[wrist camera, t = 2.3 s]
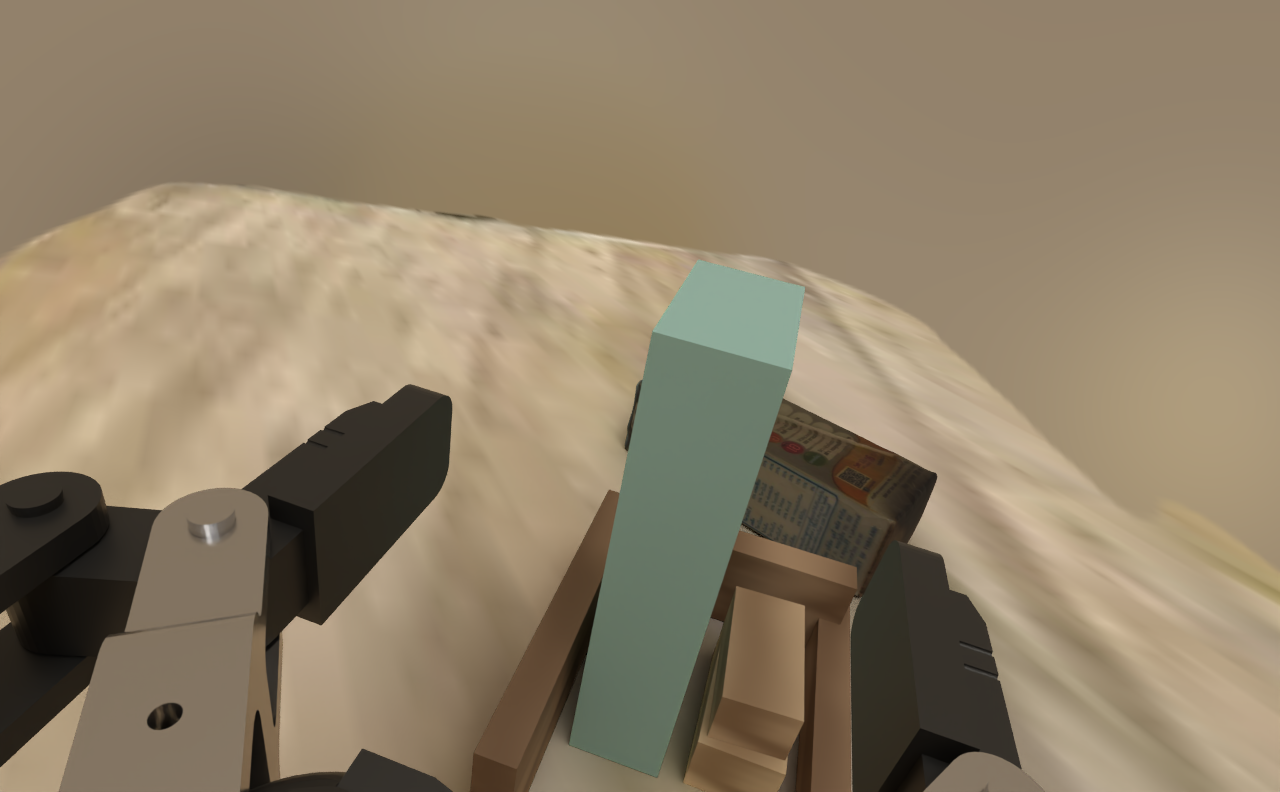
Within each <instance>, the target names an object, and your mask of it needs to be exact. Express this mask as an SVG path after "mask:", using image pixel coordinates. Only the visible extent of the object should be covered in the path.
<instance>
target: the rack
mask: <svg viewBox="0 0 1280 792" xmlns="http://www.w3.org/2000/svg"><path fill="white" fill-rule="evenodd" d="M619 494H620V493H618V492H615V491H611V490H609V491H608V492H607V494H606V496H605V498H604V500H603V502H602V504H601V506H600V508H599V510H598V512H597V514H596V516H595V518H594V520H593V522H592V524H591V526H590V528H589V529H588V531H587V533H586V535H585V537H584V539H583V541H582V543H581V545H580V547H579V549H578V551H577V553H576V555H575V557H574V559H573V561H572V563H571V564H570V566H569V568H568V570H567V572H566V574H565V576H564V578H563V580H562V582H561V584H560V586H559V588H558V590H557V592H556V594H555V596H554V598H553V599H552V601H551V603H550V605H549V607H548V609H547V611H546V613H545V615H544V617H543V619H542V621H541V623H540V625H539V627H538V629H537V631H536V633H535V635H534V636H533V638H532V640H531V642H530V644H529V646H528V648H527V650H526V652H525V654H524V656H523V658H522V660H521V662H520V664H519V666H518V668H517V670H516V671H515V673H514V675H513V677H512V679H511V681H510V683H509V685H508V687H507V689H506V691H505V693H504V695H503V697H502V699H501V701H500V703H499V705H498V706H497V708H496V710H495V712H494V714H493V716H492V718H491V720H490V722H489V724H488V726H487V728H486V730H485V732H484V734H483V736H482V738H481V740H480V742H479V743H478V745H477V747H476V749H475V751H474V755H473V767H472V780H471V792H528V791H529V789H530V786H531V784H532V782H533V779H534V777H535V774H536V772H537V770H538V767H539V765H540V762H541V760H542V758H543V755H544V753H545V750H546V748H547V746H548V743H549V741H550V738H551V736H552V734H553V731H554V729H555V726H556V724H557V722H558V719H559V717H560V714H561V712H562V710H563V707H564V705H565V702H566V700H567V698H568V695H569V693H570V690H571V688H572V686H573V683H574V681H575V678H576V676H577V674H578V671H579V669H580V666H581V664H582V661H583V659H584V657H585V654H586V652H587V649H588V647H589V643H590V638H591V633H592V628H593V623H594V618H595V613H596V608H597V603H598V598H599V593H600V588H601V583H602V579H603V574H604V569H605V564H606V559H607V554H608V549H609V544H610V539H611V534H612V529H613V524H614V519H615V514H616V509H617V504H618V499H619ZM736 586H738V587H742V588H745V589H749V590H752V591H755V592H759V593H762V594H766V595H769V596H773V597H776V598H780V599H783V600H787V601H790V602H793V603H797V604H800V605H804V606H805V662H804V723H803V725H802V727H801V729H800V734H799V749H798V765H797V780H796V792H851V707H850V603H851V601H852V599H853V597H854V595H855V593H856V591H857V567H854V566H851V565H848V564H845V563H841V562H838V561H835V560H832V559H829V558H825V557H822V556H819V555H816V554H813V553H809V552H806V551H803V550H800V549H797V548H793V547H790V546H787V545H784V544H781V543H778V542H774V541H771V540H768V539H765V538H762V537H758V536H755V535H752V534H749V533H746V532H742V531H739V532H738V535H737V538H736V541H735V544H734V547H733V550H732V553H731V556H730V559H729V562H728V565H727V568H726V571H725V575H724V578H723V581H722V584H721V587H720V590H719V593H718V596H717V599H716V602H715V605H714V608H713V611H712V614H711V617H712V618H715V619H718V620H721V621H725V618H726V615H727V612H728V609H729V606H730V603H731V600H732V598H733V595H734V592H735V589H736Z"/></svg>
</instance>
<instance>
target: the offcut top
mask: <svg viewBox="0 0 1280 792" xmlns="http://www.w3.org/2000/svg"><path fill="white" fill-rule="evenodd" d="M804 662H805V606H804V605H800V604H797V603H793V602H790V601H787V600H783V599H780V598H776V597H773V596H769V595H766V594H762V593H759V592H755V591H752V590H749V589H745V588H742V587H738V586H736V589H735V592H734V595H733V598H732V600H731V603H730V606H729V609H728V612H727V615H726V618H725V621H724V624H723V630H722V637H721V644H720V651H719V658H718V665H717V673H716V680H715V687H714V694H713V701H712V708H711V715H710V722H709V729H708V737H711V738H714V739H717V740H721V741H724V742H727V743H730V744H733V745H737V746H740V747H743V748H746V749H749V750H753V751H756V752H759V753H762V754H765V755H769V756H772V757H775V758H778V759H781V760H786V758H787V756H788V754H789V752H790V750H791V748H792V746H793V743H794V741H795V739H796V737H797V735H798V733H799V731H800V729H801V727H802V725H803V723H804Z"/></svg>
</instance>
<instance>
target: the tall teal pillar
mask: <svg viewBox="0 0 1280 792" xmlns="http://www.w3.org/2000/svg"><path fill="white" fill-rule="evenodd" d="M804 291H805V287H802V286H798V285H795V284H791V283H787V282H783V281H779V280H775V279H771V278H767V277H764V276H760V275H756V274H752V273H748V272H744V271H740V270H737V269H733V268H729V267H725V266H721V265H717V264H713V263H709V262H706V261H702V260H698V261H697V263H696V264H695V266H694V267H693V269H692V270H691V272H690V274H689V275H688V277H687V278H686V280H685V281H684V283H683V285H682V286H681V288H680V289H679V291H678V292H677V294H676V295H675V297H674V299H673V300H672V302H671V303H670V305H669V306H668V308H667V310H666V311H665V313H664V314H663V316H662V317H661V319H660V320H659V322H658V324H657V325H656V327H655V328H654V330H653V331H652V336H651V341H650V346H649V351H648V356H647V361H646V366H645V371H644V376H643V381H642V386H641V391H640V396H639V400H638V405H637V410H636V415H635V420H634V425H633V430H632V435H631V440H630V445H629V450H628V455H627V460H626V465H625V470H624V475H623V480H622V485H621V490H620V494H619V499H618V504H617V509H616V514H615V519H614V524H613V529H612V534H611V539H610V544H609V549H608V554H607V559H606V564H605V569H604V574H603V579H602V583H601V588H600V593H599V598H598V603H597V608H596V613H595V618H594V623H593V628H592V633H591V638H590V643H589V648H588V653H587V658H586V663H585V668H584V672H583V677H582V682H581V687H580V692H579V697H578V702H577V707H576V712H575V717H574V722H573V727H572V732H571V737H570V742H569V745H571V746H573V747H576V748H579V749H581V750H584V751H587V752H589V753H592V754H595V755H597V756H600V757H603V758H606V759H608V760H611V761H614V762H616V763H619V764H622V765H624V766H627V767H630V768H632V769H635V770H638V771H640V772H643V773H646V774H649V775H651V776H654V777H658V774H659V771H660V768H661V765H662V762H663V759H664V756H665V753H666V750H667V747H668V744H669V741H670V738H671V735H672V732H673V729H674V726H675V723H676V720H677V717H678V714H679V711H680V708H681V705H682V702H683V699H684V695H685V692H686V689H687V686H688V683H689V680H690V677H691V674H692V671H693V668H694V665H695V662H696V659H697V656H698V653H699V650H700V647H701V644H702V641H703V638H704V635H705V632H706V629H707V626H708V623H709V620H710V617H711V614H712V611H713V608H714V605H715V602H716V599H717V596H718V593H719V590H720V587H721V584H722V581H723V578H724V575H725V571H726V568H727V565H728V562H729V559H730V556H731V553H732V550H733V547H734V544H735V541H736V538H737V535H738V532H739V529H740V526H741V523H742V520H743V517H744V514H745V511H746V508H747V505H748V502H749V499H750V496H751V493H752V490H753V487H754V484H755V481H756V478H757V475H758V472H759V469H760V466H761V463H762V460H763V457H764V454H765V451H766V447H767V444H768V441H769V438H770V435H771V432H772V429H773V426H774V423H775V420H776V417H777V414H778V411H779V408H780V405H781V402H782V399H783V396H784V393H785V390H786V387H787V384H788V381H789V378H790V375H791V372H792V367H793V361H794V355H795V348H796V342H797V336H798V329H799V323H800V316H801V310H802V304H803V297H804Z"/></svg>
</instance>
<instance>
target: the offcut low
mask: <svg viewBox="0 0 1280 792" xmlns="http://www.w3.org/2000/svg"><path fill="white" fill-rule="evenodd" d="M722 630H723V628H722ZM721 637H722V631H721V633H720V636H719V639H718V642H717V645H716V648H715V651H714V654H713V657H712V662H711V666H710V670H709V674H708V679H707V683H706V687H705V691H704V696H703V700H702V704H701V708H700V713H699V717H698V721H697V726H696V730H695V734H694V738H693V743H692V747H691V751H690V755H689V760H688V764H687V768H686V772H685V777H684V781H683V783H685V784H688V785H690V786H693V787H695V788H698V789H701V790H703V791H706V792H778V790H779V788H780V786H781V784H782V782H783V780H784V778H785V776H786V769H787V759H788V756H787V758H786V760H781V759H778V758H775V757H772V756H769V755H765V754H762V753H759V752H756V751H753V750H749V749H746V748H743V747H740V746H737V745H733V744H730V743H727V742H724V741H721V740H717V739H714V738H711V737H708V729H709V722H710V715H711V708H712V701H713V694H714V687H715V680H716V673H717V665H718V658H719V651H720V644H721Z"/></svg>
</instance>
